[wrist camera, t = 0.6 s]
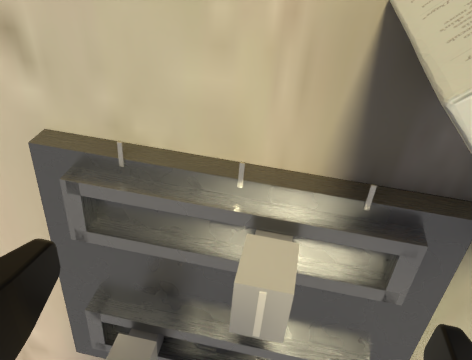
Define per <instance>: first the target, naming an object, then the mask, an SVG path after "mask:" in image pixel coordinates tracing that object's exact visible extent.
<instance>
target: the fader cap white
mask: <svg viewBox="0 0 472 360" xmlns="http://www.w3.org/2000/svg"><path fill="white" fill-rule="evenodd" d="M163 341H164V336H163V335H159V334H154V333H150V332H145V331H141V330H136V329H132V328H131V330H130V332H129V335H125V334H120V333H118V335H117V337H116V339H115V341H114V344H113V346H112V348H111V350H110V352H109V354H108V356H107V358H106V360H158V357H157V356H158V353H159V351H160V348H161V346H162V343H163Z"/></svg>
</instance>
